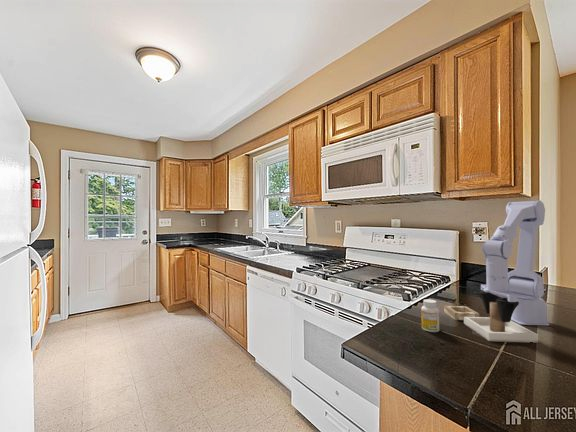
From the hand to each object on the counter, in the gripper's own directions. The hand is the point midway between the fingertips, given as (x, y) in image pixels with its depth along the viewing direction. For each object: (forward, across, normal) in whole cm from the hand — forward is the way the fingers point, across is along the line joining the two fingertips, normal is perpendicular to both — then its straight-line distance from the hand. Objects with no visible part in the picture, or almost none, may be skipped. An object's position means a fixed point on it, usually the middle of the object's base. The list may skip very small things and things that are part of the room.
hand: (497, 317), depth 90 cm
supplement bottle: (+5, -1, -21) cm, 22 cm away
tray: (+5, 0, 0) cm, 5 cm away
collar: (+5, -15, -4) cm, 16 cm away
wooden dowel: (+4, 0, 0) cm, 4 cm away
